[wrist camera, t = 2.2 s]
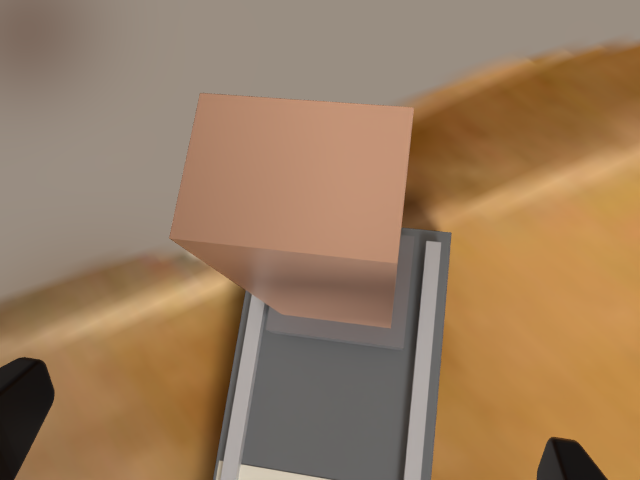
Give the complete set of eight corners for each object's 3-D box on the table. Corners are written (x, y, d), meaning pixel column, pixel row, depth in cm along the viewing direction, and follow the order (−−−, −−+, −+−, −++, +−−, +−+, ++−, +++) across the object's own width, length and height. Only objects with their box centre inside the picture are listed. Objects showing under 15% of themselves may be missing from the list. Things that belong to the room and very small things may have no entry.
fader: (402, 350, 18) (425, 305, 8) (272, 332, 19) (133, 270, 8) (412, 245, 19) (446, 78, 9) (288, 232, 19) (180, 61, 9)
